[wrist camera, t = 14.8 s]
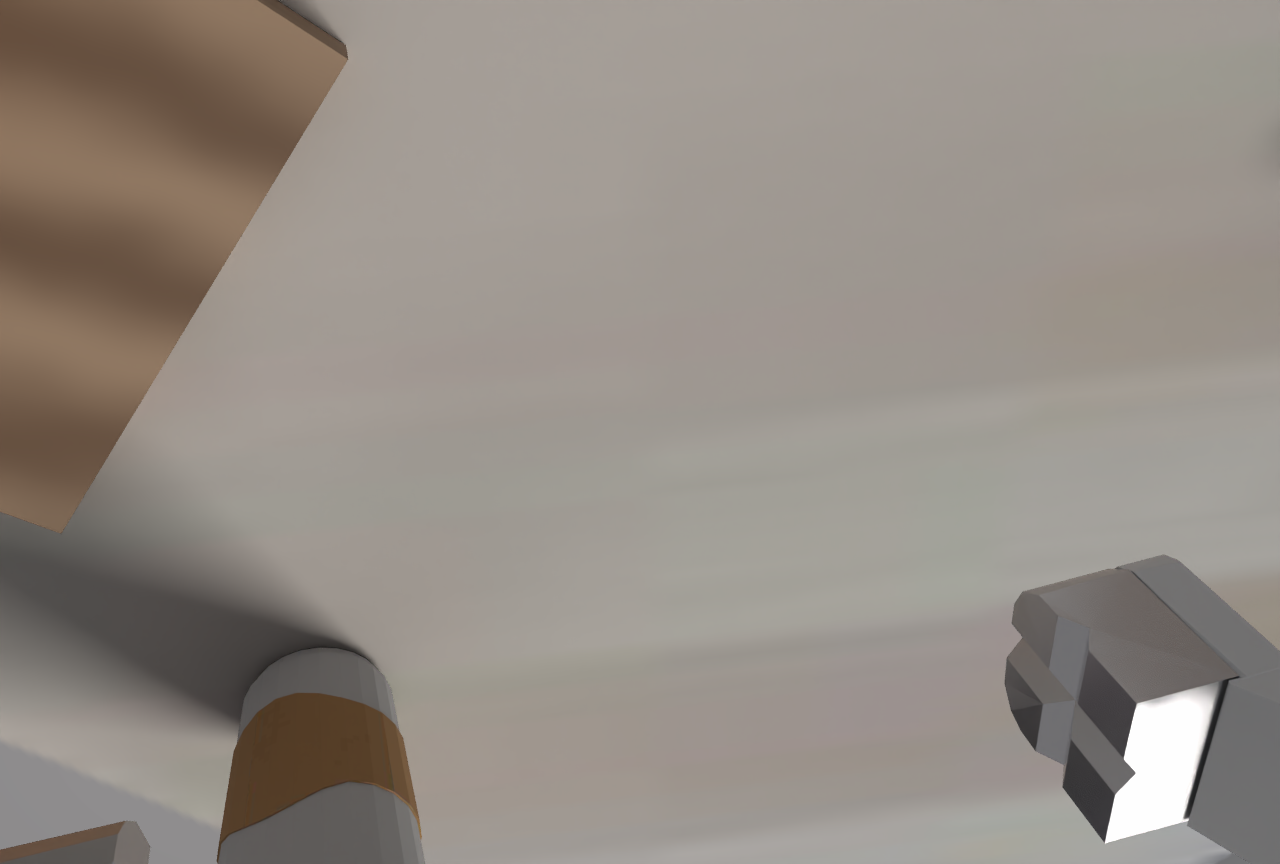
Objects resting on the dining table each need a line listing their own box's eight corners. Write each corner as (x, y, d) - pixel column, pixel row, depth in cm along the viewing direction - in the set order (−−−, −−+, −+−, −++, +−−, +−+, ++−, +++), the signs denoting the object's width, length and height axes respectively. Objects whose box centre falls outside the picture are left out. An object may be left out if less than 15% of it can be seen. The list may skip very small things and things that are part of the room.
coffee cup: (284, 791, 51) (280, 1119, 39) (178, 681, 47) (134, 1014, 34) (445, 712, 51) (492, 1014, 39) (355, 594, 47) (376, 895, 34)
